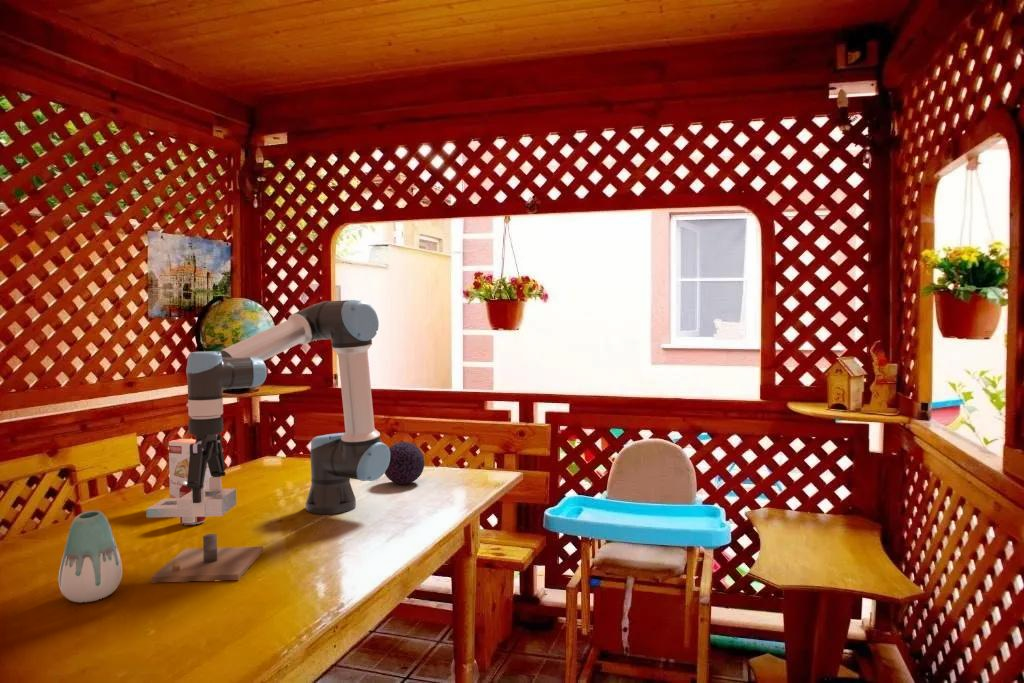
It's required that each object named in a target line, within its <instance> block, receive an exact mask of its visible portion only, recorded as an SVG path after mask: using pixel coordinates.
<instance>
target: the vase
mask: <svg viewBox="0 0 1024 683" xmlns="http://www.w3.org/2000/svg"><path fill="white" fill-rule="evenodd" d="M110 524H111V523H110V522H109V520H108V518H107V517H106V516H105V514H104V513H103V512H102V511H101V510H87V511H85V512H81V513H80V514H78V515H76V516H75V517H74V519H73V520H72V522H71V523H70V528H69V530H68V533H67V539H66V543H65V547H64V550H63V555H62V558H61V563H60V567H59V571H58V587H59V590H60V593H61V594H62V595H63V596H64V597H65V598H66V599H67V600H68V601H71V602H73V603H83V602H84V603H92V602H96V601H100V600H102V598H103V599H105V598H107V597H109V596H110V595H111V594H113V593H114V592H115V591H117V589H118V587H119V585H120V583H121V581H122V578H123V563H122V558H121V555H120V551H119V547H118V545H117V543H116V540H115V538H114V534H113V530H112V528H111V527H112V526H111V525H110ZM99 599H100V600H99ZM84 603H83V604H84Z"/></svg>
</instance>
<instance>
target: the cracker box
mask: <svg viewBox="0 0 1024 683" xmlns="http://www.w3.org/2000/svg"><path fill="white" fill-rule="evenodd" d="M195 442H196V439H192V438H178V439H173V440H170V441H168V460H169V461H168V463H169V464H168V465H169V469H168V470H169V473H168V474H169V498H180V495H179V489H180V488H181V486H182V482H185V481H187V480H188V469H189V459H190V444H195ZM210 477H213V476H211V474H210V470H209V467H208V463H207V467H206V472H205V478H204V484H203V485H204V486H205V489H209V478H210Z"/></svg>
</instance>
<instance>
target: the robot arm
mask: <svg viewBox="0 0 1024 683" xmlns="http://www.w3.org/2000/svg"><path fill="white" fill-rule="evenodd" d="M379 325H380V322H379V317H378V314H377V311H376V310H375V308H374V307H373V306H372V305H371V304H369V303H368V302H366V301H363V300H356V299H347V300H346V299H344V300H325V301H321V302H318V303H315V304H312V305H310V306H308V307H306V308H305V307H304V308H303V309H302V310H299V311H296V312H295V313H292V314H290V315H289V317H288V318H287V320H284V321H283V322H281V323H279V324H276V325H275V326H272V327H269V328H267V329H266V330H262V331H261V332H259V333H256V334H255V335H252V336H250V337H248V338H246V339H243V340H241V341H239V342H236V343H234V344H232V345H229V346H227V347H225V348H223V349H221V350H218V351H215V350H214V351H212V350H211V351H210V350H209V351H208V350H207V351H193V352H191V353H189V354H188V355H187V361H186V363H187V364H186V368H185V369H186V370H185V372H186V378H187V396H188V397H187V403H186V404H185V405H186V407H187V408H188V409H187V410H188V414H187V415H188V416H189V417H190V418H189V419H188V420H187V421H188V422H187V423H188V433H189V435H192V436H195V440H196V442H195V444H190V459H189V469H188V480H187V489H192V517H198V516H205V488H203V484H204V478H205V472H206V467H207V463H208V467H209V470H210V474H211V476H213V477H210V478H209V489H223V484H222V483H223V482H222V477H226V466H225V460H224V459H225V458H224V451H223V443H222V441H223V440H222V437H223V436H222V434H221V433H222V432H224V417H223V416H222V415H223V414H224V400H223V399H224V398H223V391H225V390H232V389H234V390H235V389H245V388H250V389H252V388H253V387H260V386H261V385H263V384H264V382H265V381H266V380H267V379H266V378H267V377H268V376H267V375H268V373H267V366H266V364H265V361H267V360H269V359H271V358H273V357H274V356H277V355H279V354H281V353H282V352H285V351H287V350H289V349H291V348H293V347H296V346H297V345H307V344H309V343H312V342H314V341H321V340H325V341H326V340H330V341H331V349H333V350H334V351H335V352H336V353H337V356H338V357H337V358H338V368H339V376H340V378H339V379H340V387H341V388H340V389H341V399H342V401H341V402H342V408H343V410H342V411H343V418H344V419H343V420H344V430H345V432H337V433H336V432H335V433H329V434H324V435H323V434H322V435H317V436H315V437H313V438H312V439H311V443H310V451H309V452H310V476H311V477H310V478H311V479H310V480H311V484H310V485H311V486H310V487H309V491H308V495H307V498H306V501H305V510H306V512H307V513H310V514H316V515H334V514H341V513H346V512H349V511H352V510H354V509H355V508H356V507H357V506H356V505H357V499H356V496H355V493H354V491H353V488H352V484H351V479H352V480H358V481H361V482H374V481H378V480H380V479H381V477H383V475H385V471H386V469H387V468H388V466H389V463H390V450H389V446H388V445H387V444H386V443H384V442H382V441H381V440H382V439H381V433H380V431H378V430H377V429H376V428H375V417H374V408H373V397H372V386H371V376H370V366H369V365H370V363H369V352H368V350H369V349H370V348H371V346H373V340H372V339H374V338H375V337H376V335H377V334H378V333H377V332H379V331H378V330H379Z"/></svg>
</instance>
